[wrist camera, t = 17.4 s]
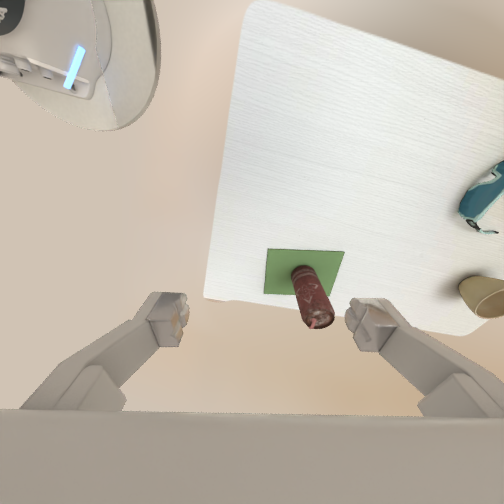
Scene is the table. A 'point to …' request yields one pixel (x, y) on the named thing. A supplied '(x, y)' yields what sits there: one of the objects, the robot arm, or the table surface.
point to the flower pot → (483, 296)
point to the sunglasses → (482, 198)
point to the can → (312, 298)
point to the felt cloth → (288, 260)
